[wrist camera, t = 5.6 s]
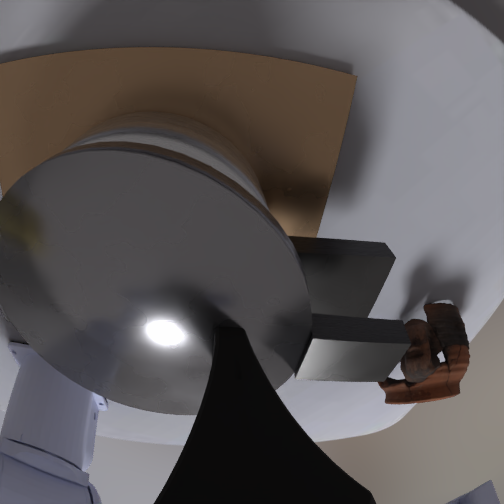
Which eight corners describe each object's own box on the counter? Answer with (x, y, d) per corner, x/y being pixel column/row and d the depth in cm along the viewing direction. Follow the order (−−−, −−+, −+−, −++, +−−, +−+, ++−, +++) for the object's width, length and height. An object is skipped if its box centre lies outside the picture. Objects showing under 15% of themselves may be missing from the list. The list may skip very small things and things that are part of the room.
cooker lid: (40, 364, 14) (31, 382, 13) (-32, 142, 7) (-55, 155, 6) (337, 412, 16) (340, 433, 14) (459, 200, 8) (480, 221, 7)
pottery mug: (467, 313, 27) (473, 391, 24) (387, 330, 33) (389, 403, 29) (455, 281, 19) (466, 398, 16) (341, 307, 25) (341, 410, 21)
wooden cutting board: (306, 334, 24) (325, 394, 19) (44, 322, 20) (23, 380, 16) (386, 85, 14) (452, 108, 9) (-2, 64, 10) (-70, 83, 6)
